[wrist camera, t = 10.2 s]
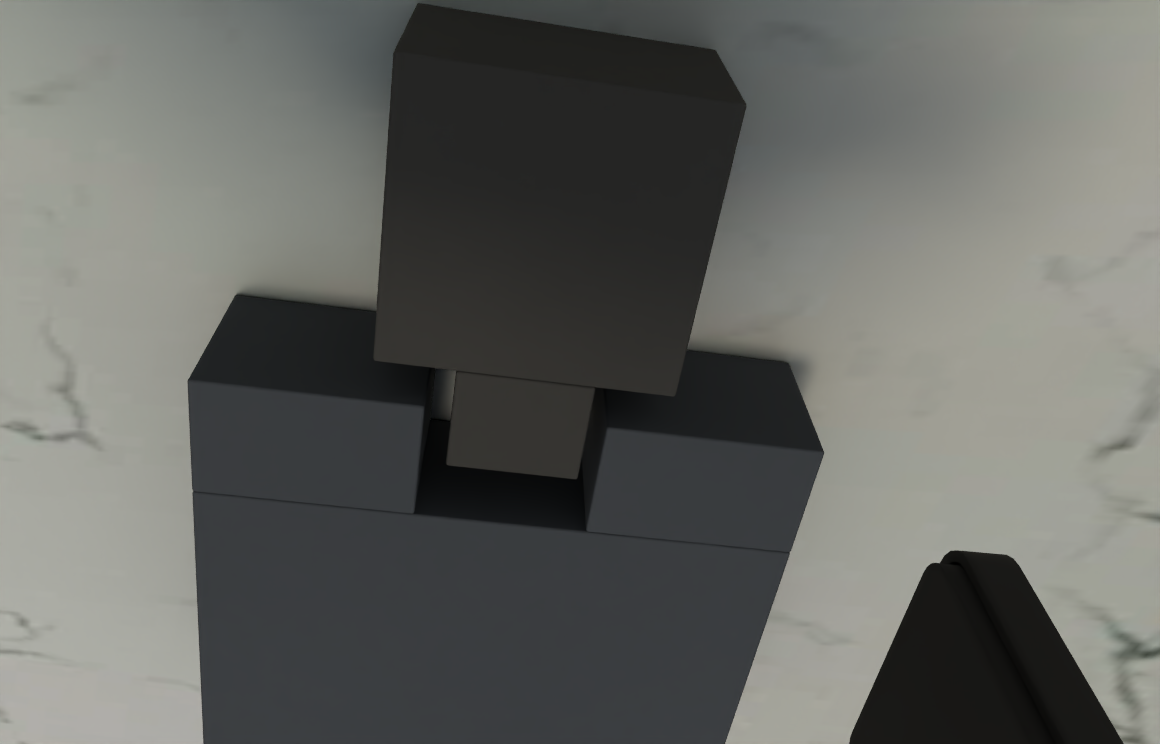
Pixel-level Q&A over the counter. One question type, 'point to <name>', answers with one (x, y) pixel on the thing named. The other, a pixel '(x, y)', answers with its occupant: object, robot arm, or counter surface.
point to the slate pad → (477, 549)
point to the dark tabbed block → (546, 222)
